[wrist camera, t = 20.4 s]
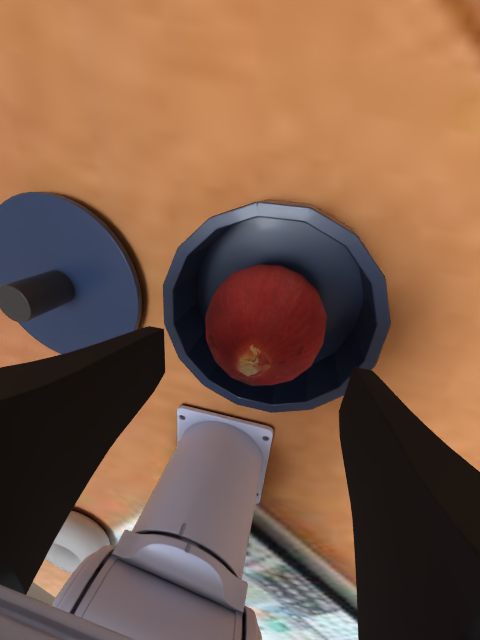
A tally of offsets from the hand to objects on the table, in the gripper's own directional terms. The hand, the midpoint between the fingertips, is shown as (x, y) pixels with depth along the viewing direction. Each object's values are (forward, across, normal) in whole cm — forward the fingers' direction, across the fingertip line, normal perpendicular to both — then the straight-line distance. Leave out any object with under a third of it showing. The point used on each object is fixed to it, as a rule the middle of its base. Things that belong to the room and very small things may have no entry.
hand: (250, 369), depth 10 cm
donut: (+8, +20, +36) cm, 43 cm away
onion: (+8, 0, 0) cm, 8 cm away
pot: (+8, 0, 0) cm, 8 cm away
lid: (+7, +15, +1) cm, 17 cm away
